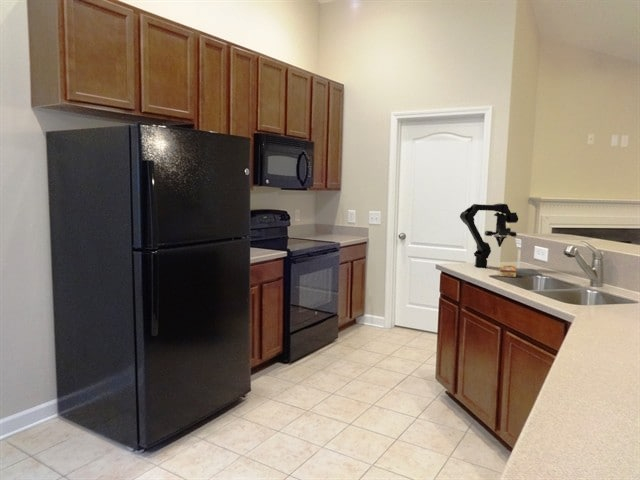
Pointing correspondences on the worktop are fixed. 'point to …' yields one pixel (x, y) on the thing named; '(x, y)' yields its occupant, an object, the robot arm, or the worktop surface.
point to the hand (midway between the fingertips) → (499, 246)
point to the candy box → (508, 271)
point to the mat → (527, 272)
